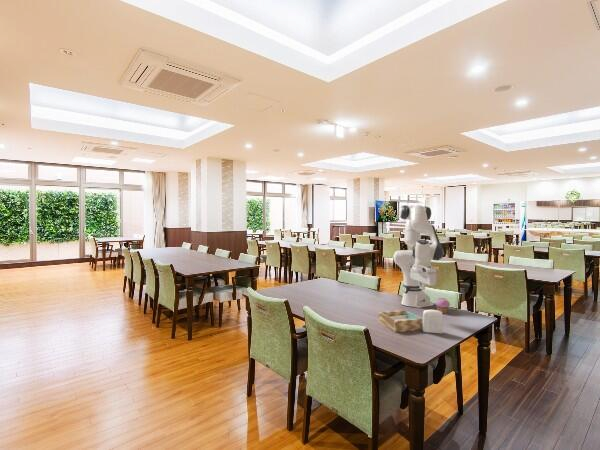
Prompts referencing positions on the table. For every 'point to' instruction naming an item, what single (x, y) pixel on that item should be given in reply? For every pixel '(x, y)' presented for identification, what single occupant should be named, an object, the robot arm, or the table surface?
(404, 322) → the woven basket
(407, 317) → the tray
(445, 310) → the cupcake
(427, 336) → the table surface
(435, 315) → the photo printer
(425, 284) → the robot arm
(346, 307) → the table surface
